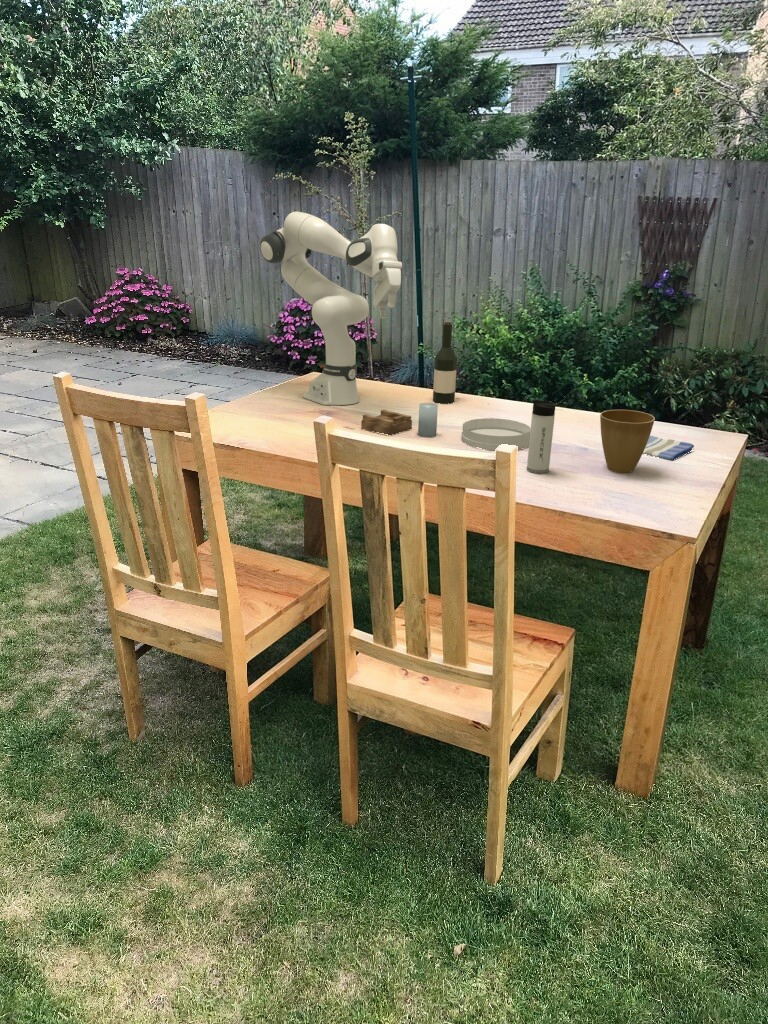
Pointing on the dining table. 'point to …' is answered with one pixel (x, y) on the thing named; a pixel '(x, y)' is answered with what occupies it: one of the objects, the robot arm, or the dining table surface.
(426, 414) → the grey domed cylinder
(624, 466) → the plant pot
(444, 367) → the wine bottle
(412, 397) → the dining table surface
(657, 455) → the dish towel
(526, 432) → the dish
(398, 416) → the chest
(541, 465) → the travel mug
